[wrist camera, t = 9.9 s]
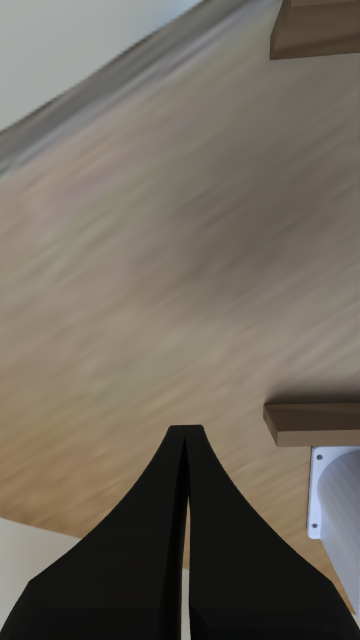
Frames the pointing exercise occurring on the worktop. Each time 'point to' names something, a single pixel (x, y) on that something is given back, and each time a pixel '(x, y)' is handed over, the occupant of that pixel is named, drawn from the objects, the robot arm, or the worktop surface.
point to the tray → (293, 42)
